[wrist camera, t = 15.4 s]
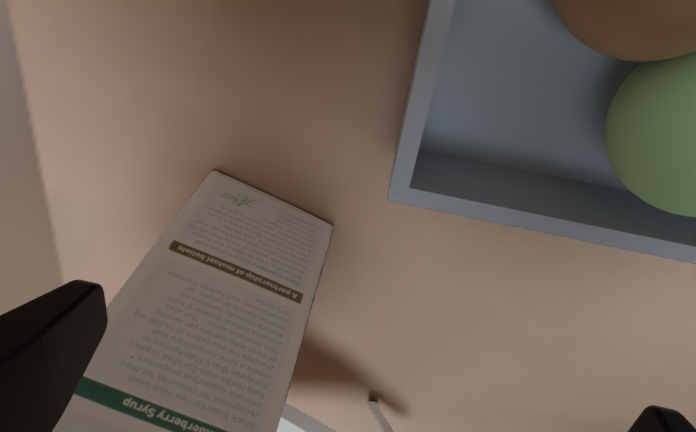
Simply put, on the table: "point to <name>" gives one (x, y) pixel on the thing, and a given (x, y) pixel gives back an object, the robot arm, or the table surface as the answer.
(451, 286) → the table surface
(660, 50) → the walnut ball
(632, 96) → the green ball
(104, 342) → the syrup box
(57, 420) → the robot arm
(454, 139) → the bin
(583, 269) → the table surface
